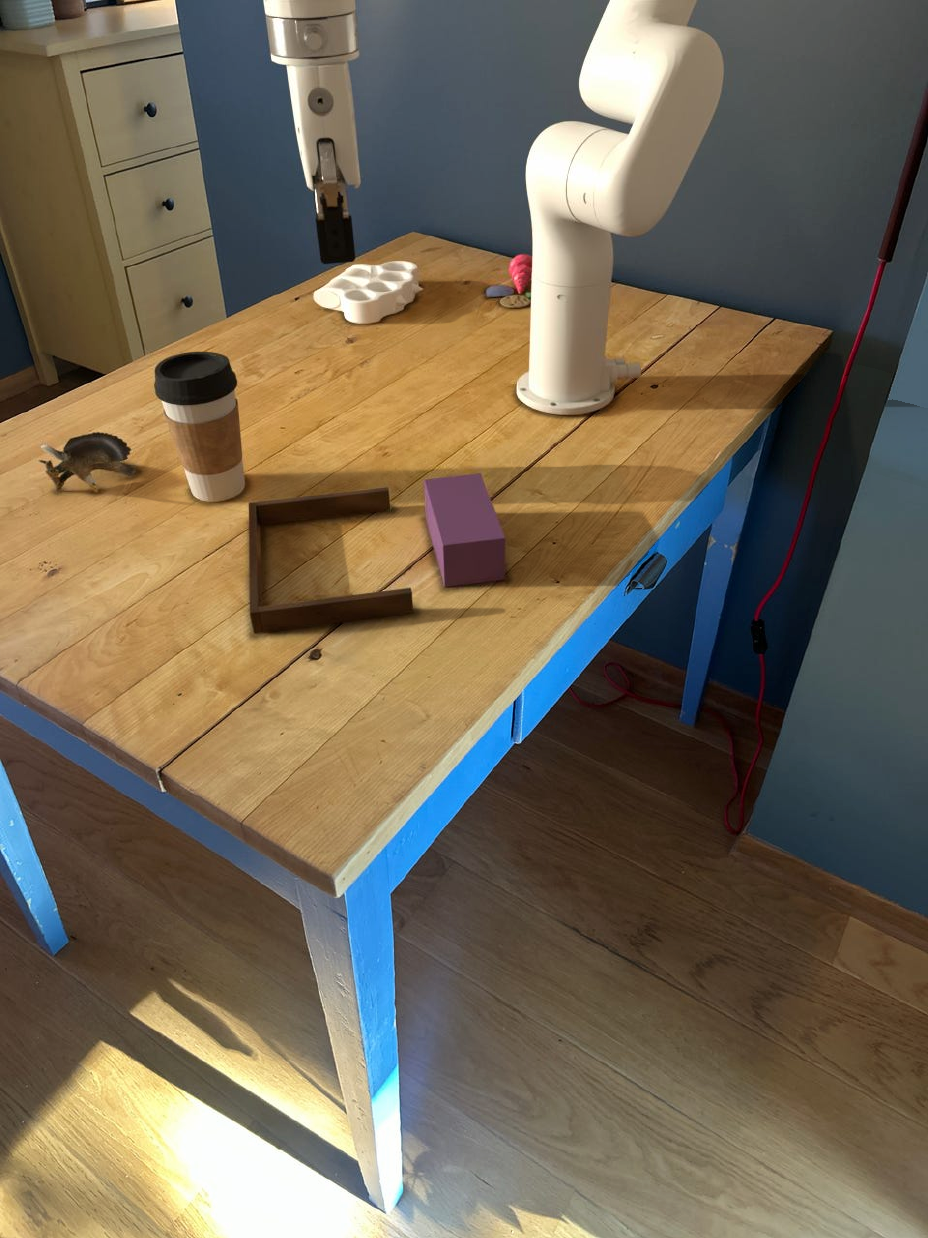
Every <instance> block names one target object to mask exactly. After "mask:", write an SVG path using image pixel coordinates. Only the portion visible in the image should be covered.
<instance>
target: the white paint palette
mask: <svg viewBox="0 0 928 1238" xmlns="http://www.w3.org/2000/svg"><path fill="white" fill-rule="evenodd" d="M423 290H424V288H423V287H421V286H419V267H418V266H417V264H415V263H414V262H410V261H405V260H393V261H388V262H384V263H382V264H367V263H366V264H365V263H358V264H353V265H351V266H349V267H348V268H346V269H345V271H343V272H342V273H341V274H339V275H337V276H336V277H334V278H332V279H331V280H330V281H329V282H328V283H327V284H325V285H324V286H322V287H320V288H319V289H317V290H315V291H314V292H313V300H314V302H315V303H316V304H318V306H320V307H322V308H324V309H325V308H326V309H329V310H332V311H337V312H343V313H344V318H345V319H346V320H347V321H348V322H350V323H352V324H359V325H369V324H375V323H379V322H380V321H381V320H382V319H383V318H384V317H386V316H390V315H393V314H395V315H396V314H397V313H399V312H401V311H404V309H405V306H406V305H407V304H410V303H413V301H414V299H415V297H416V294H418V293H419V292H421V291H423Z"/></svg>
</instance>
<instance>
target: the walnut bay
mask: <svg viewBox="0 0 928 1238" xmlns="http://www.w3.org/2000/svg"><path fill="white" fill-rule="evenodd" d="M390 496H391V495H390V489H389V487H388V486H386V487H385V486H384V487H377V488H368V489H367V488H366V489H360V490H359V489H357V490H350V491H349V490H348V491H341V492H340V491H339V492H331V493H324V494H323V493H322V494H316V495H315V494H313V495H304V496H295V497H287V498H278V499H269V500H260V501H252V502H251V501H250V502H248V580H249V581H248V583H249V584H248V586H249V591H248V594H249V597H248V598H249V599H248V600H249V617H250V622H251V627H252V631H253V634H261V633H270V632H279V631H286V630H293V629H301V628H308V627H316V626H324V625H332V624H340V623H347V622H348V623H349V622H354V621H363V620H370V619H379V618H385V617H394V616H395V617H396V616H402V615H410V614H414V604H413V603H414V602H413V592H412V588H411V587H405V588H398V589H396V588H395V589H388V590H381V591H371V592H365V593H357V594H348V595H340V596H333V597H324V598H318V599H310V600H301V601H294V602H286V603H279V604H278V603H277V604H270V605H263V596H262V595H263V594H262V592H263V591H262V559H261V558H262V556H261V555H262V554H261V550H262V549H261V526H262V525H272V524H280V523H281V524H282V523H288V522H289V523H290V522H297V521H306V520H316V519H322V518H323V519H324V518H333V517H342V516H349V515H360V514H367V513H368V514H369V513H376V512H385V511H390V510H391V497H390Z"/></svg>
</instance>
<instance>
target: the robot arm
mask: <svg viewBox="0 0 928 1238" xmlns="http://www.w3.org/2000/svg"><path fill="white" fill-rule="evenodd" d="M697 2H698V0H609V2H608V4H607V6H606V9H605V11H604V13H603V14H602V15H603V16H602V18H601V20H600V22H599V25H598V27H597V29H596V31H595V33H594V35H593V38H592V41H591V42H590V45H589V48H588V50H587V53H586V55H585V57H584V60H583V62H582V66H581V71H580V74H579V79H578V88H579V94H580V97H581V99H582V101H583V103H584V105H586V106H587V108H588V109H590V110H591V111H592V112H594V113H596V114H598V115H600V116H603V117H604V118H608V119H610V120H615V121H618V122H622V123H627V124H630V125H632V127H631V128H630V131H629V132H628V133H625V132H621V131H617V130H615V129H612V128H608V127H604V126H600V125H596V124H592V123H587V122H583V121H577V120H567V121H561V122H557V123H554V124H552V125H550V126H548V127H546V128H545V129H543V131H542V132H541V133H539V134H538V136H537V137H536V139H535V140H534V141H533V143H532V145H531V146H530V150H529V152H528V156H527V159H526V165H525V185H526V186H525V187H526V194H527V200H528V207H529V211H530V212H529V213H530V220H531V221H530V222H531V233H532V237H531V238H532V240H531V241H532V268H531V269H532V277H531V286H530V287H531V289H530V293H531V298H530V320H529V321H530V324H529V325H530V327H529V328H530V329H529V359H528V361H529V362H528V363H529V364H528V371H526V372H524V374H522V375H521V376H519V378H518V380H517V382H516V395H517V398H518V399H519V400H520V402H522V403H523V404H524V405H526V406H527V407H529V408H531V409H533V410H536V411H539V412H541V413H544V414H545V413H546V414H551V415H557V416H576V415H578V416H579V415H584V414H585V415H586V414H589V413H593V412H596V411H599V410H601V409H603V408H605V407H606V406H608V405H609V404H610V402H612V401H613V399H614V396H615V389H616V388H615V383H617V381H618V380H622V379H625V380H630V379H639V378H640V377H641V376H642V366H641V364H640V362H629V363H627V362H626V359H625V357H624V356H623V357H614V358H608V357H606V350H607V349H606V348H607V339H608V337H607V336H608V325H609V312H610V299H611V291H612V290H611V289H612V277H613V269H614V247H613V246H614V245H613V239H612V234H614V235H618V236H622V237H628V238H632V237H639V236H642V235H644V234H646V233H648V232H649V231H651V230H652V229H653V228H655V226H656V225H657V224H658V223H660V221H661V220H662V218H664V216H665V214H666V213H667V211H668V209H669V207H670V206H671V204H672V202H673V200H674V198H675V196H676V195H677V192H678V190H679V188H680V187H681V184H682V182H683V181H684V178H685V176H686V174H687V171H688V170H689V168H690V166H691V164H692V161H693V160H694V158H695V155H696V153H697V151H698V149H699V147H700V146H701V143H702V141H703V139H704V137H705V135H706V132H707V130H708V128H709V126H710V124H711V122H712V120H713V117H714V115H715V113H716V110H717V108H718V105H719V101H720V99H721V95H722V91H723V83H724V74H725V68H724V67H725V66H724V57H723V54H722V51H721V49H720V47H719V44H718V43H717V41H716V40H715V38H713V37H712V35H710V34H708V33H707V32H706V31H703V30H701V29H699V28H695V27H691V26H688V23H689V21H690V18H691V16H692V13H693V10H694V8H695V6H696V4H697ZM263 8H264V15H265V23H266V30H267V38H268V44H269V52H270V58H271V62H273V63H275V64H278V65H284V66H286V71H287V79H288V87H289V93H290V95H289V96H290V100H291V108H292V109H291V110H292V115H293V121H294V129H295V134H296V140H297V145H298V150H299V156H300V161H301V164H302V169H303V170H302V171H303V173H304V178H305V182H306V187H307V188H308V189H309V190H311V191H312V193H313V199H314V208H315V216H316V217H315V226H316V235H317V243H318V251H319V258H320V259H319V260H320V262H321V263H322V264H323V265H331V264H344V263H345V264H346V263H353V262H355V260H356V251H355V239H354V229H353V219H352V215H351V214H349V213H350V212H349V203H348V193H347V186H353V188H354V189H358V188H359V187H360V185H362V179H361V171H360V161H359V151H358V150H359V149H358V139H357V127H356V118H355V107H354V98H353V97H354V96H353V89H352V82H351V81H352V80H351V75H350V67H349V62H351V61H354V60H357V58H359V57H360V46H359V45H360V44H359V33H358V21H357V12H356V11H357V10H356V0H263ZM611 233H612V234H611Z"/></svg>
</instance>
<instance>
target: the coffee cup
mask: <svg viewBox="0 0 928 1238" xmlns="http://www.w3.org/2000/svg"><path fill="white" fill-rule="evenodd" d="M237 386H238V379H237V375H236V373H235V372H234V371H233V368H232V365H231V362H230V358H229V357H228V356H227V355H225V354H222V353H219V352H213V351H188V352H181V353H179V354H178V353H177V354H174V355H172V356H168V357H166V358H164V359H163V360H161V361H160V362H158V364H156V366H155V367H154V383H153V387H154V392H155V393H154V394H155V396H156V398H157V399H159V400H160V401H161V403H162V406H163V415H164V418H165V421H166V423H167V427H168V429H169V431H170V435H171V438H172V440H173V443H174V446H175V448H176V452H177V454H178V457H179V460H180V463H181V466H182V467H183V470H184V473H185V476H186V479H187V482H188V485H189V488H190V491H191V494H192V495H193V497H195V498H196V499H198V500H199V501H203V502H207V503H217V502H223V501H228V500H230V499H233V498H235V497H238V495H240V494H242V492H243V490H244V489H245V486H246V480H245V471H244V462H243V447H242V436H241V424H240V412H239V402H238V399H237V397H236V392H235V391H236V388H237Z"/></svg>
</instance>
